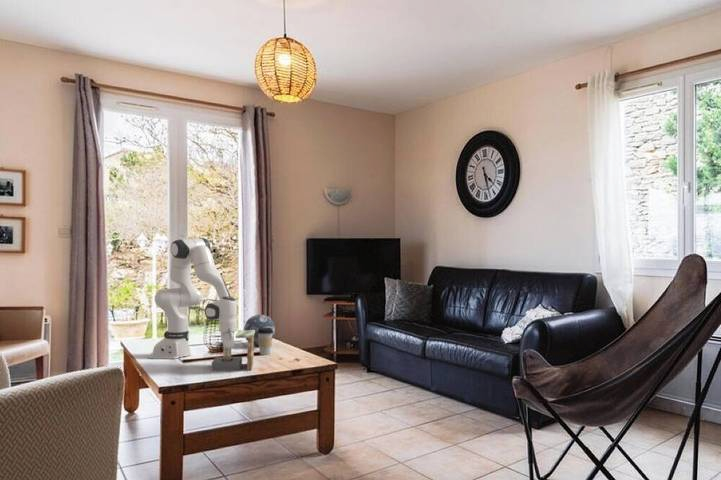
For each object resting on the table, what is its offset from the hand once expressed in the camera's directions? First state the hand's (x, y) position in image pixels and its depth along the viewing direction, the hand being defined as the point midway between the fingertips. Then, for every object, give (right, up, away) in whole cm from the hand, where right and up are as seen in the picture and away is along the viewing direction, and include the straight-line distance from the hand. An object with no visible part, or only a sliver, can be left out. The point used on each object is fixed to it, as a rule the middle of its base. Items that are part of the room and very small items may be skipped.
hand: (227, 353), depth 259 cm
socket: (0, -7, 0) cm, 7 cm away
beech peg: (0, -7, 0) cm, 7 cm away
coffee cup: (+14, -8, +32) cm, 36 cm away
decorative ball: (+5, -8, +56) cm, 57 cm away
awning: (+9, -7, +1) cm, 12 cm away
